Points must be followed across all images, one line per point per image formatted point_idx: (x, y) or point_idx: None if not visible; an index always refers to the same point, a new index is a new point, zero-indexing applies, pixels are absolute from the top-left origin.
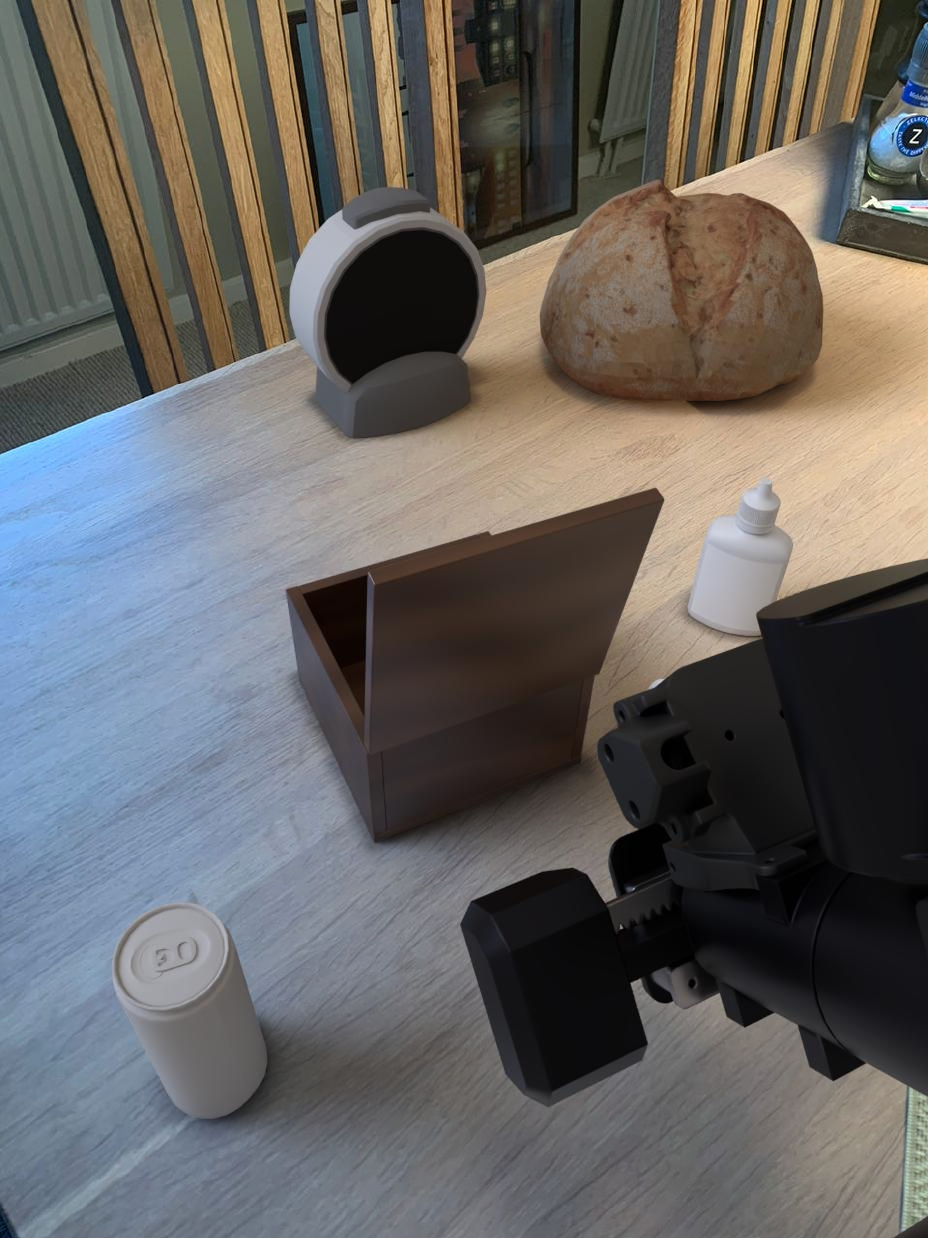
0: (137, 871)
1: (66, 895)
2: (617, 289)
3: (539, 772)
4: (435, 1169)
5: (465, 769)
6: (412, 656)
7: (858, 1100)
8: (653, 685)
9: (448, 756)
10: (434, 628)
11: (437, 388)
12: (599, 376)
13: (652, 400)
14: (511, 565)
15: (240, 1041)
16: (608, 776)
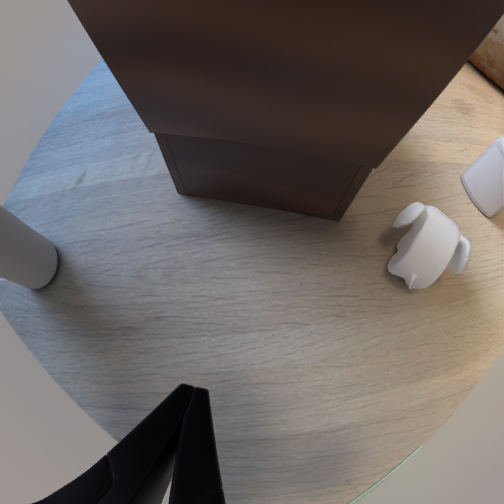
0: (77, 148)
1: (52, 146)
2: None
3: (306, 210)
4: (88, 382)
5: (243, 179)
6: (134, 42)
7: (319, 498)
8: (415, 204)
9: (227, 163)
10: (144, 9)
11: None
12: None
13: (489, 77)
14: None
15: (3, 270)
16: None
